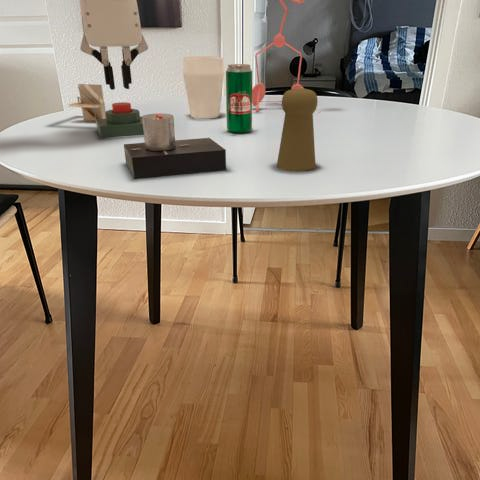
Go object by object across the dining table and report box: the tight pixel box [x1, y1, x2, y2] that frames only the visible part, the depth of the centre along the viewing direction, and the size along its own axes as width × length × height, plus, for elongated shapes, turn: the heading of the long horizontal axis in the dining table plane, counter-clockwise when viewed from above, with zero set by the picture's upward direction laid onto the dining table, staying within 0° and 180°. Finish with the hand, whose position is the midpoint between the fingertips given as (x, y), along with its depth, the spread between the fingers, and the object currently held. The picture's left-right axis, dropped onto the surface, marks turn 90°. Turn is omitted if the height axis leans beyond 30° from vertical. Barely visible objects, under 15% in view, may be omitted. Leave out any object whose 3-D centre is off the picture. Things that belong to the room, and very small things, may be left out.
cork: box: [276, 87, 318, 172], centre depth 75 cm, size 6×6×11 cm
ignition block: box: [95, 108, 144, 139], centre depth 99 cm, size 10×8×4 cm
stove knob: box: [141, 112, 176, 151], centre depth 74 cm, size 5×5×5 cm
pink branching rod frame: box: [252, 0, 321, 114], centre depth 116 cm, size 15×26×35 cm, turn 76°
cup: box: [182, 56, 225, 120], centre depth 112 cm, size 9×9×12 cm
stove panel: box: [123, 137, 227, 179], centre depth 77 cm, size 14×9×3 cm, turn 109°
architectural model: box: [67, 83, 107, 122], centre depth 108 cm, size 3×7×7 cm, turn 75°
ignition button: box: [111, 101, 132, 113], centre depth 98 cm, size 4×4×2 cm
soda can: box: [225, 63, 253, 135], centre depth 97 cm, size 5×5×12 cm
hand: (119, 87), depth 96 cm, fingers closed
